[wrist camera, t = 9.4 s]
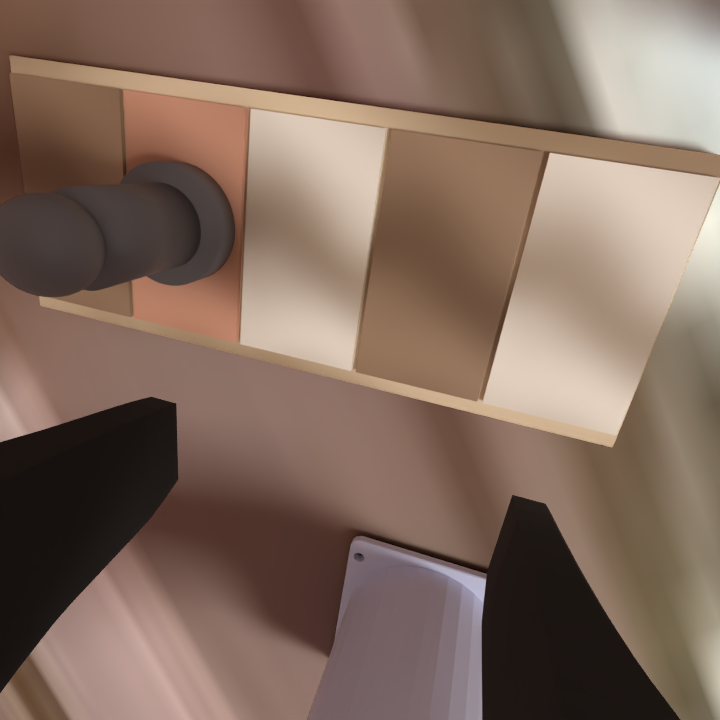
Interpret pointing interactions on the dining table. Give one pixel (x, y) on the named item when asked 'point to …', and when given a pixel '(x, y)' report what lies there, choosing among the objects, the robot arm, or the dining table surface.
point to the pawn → (117, 232)
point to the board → (392, 239)
